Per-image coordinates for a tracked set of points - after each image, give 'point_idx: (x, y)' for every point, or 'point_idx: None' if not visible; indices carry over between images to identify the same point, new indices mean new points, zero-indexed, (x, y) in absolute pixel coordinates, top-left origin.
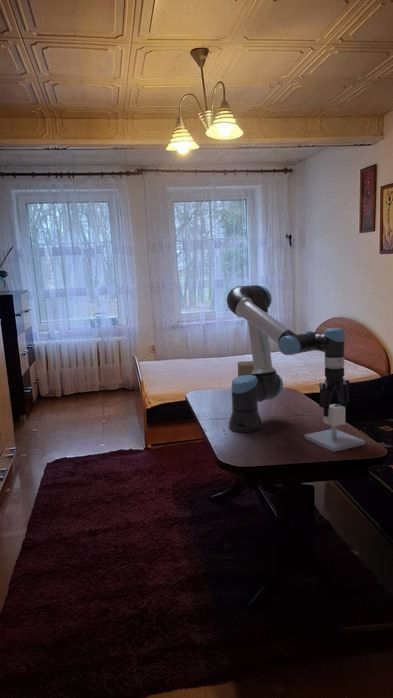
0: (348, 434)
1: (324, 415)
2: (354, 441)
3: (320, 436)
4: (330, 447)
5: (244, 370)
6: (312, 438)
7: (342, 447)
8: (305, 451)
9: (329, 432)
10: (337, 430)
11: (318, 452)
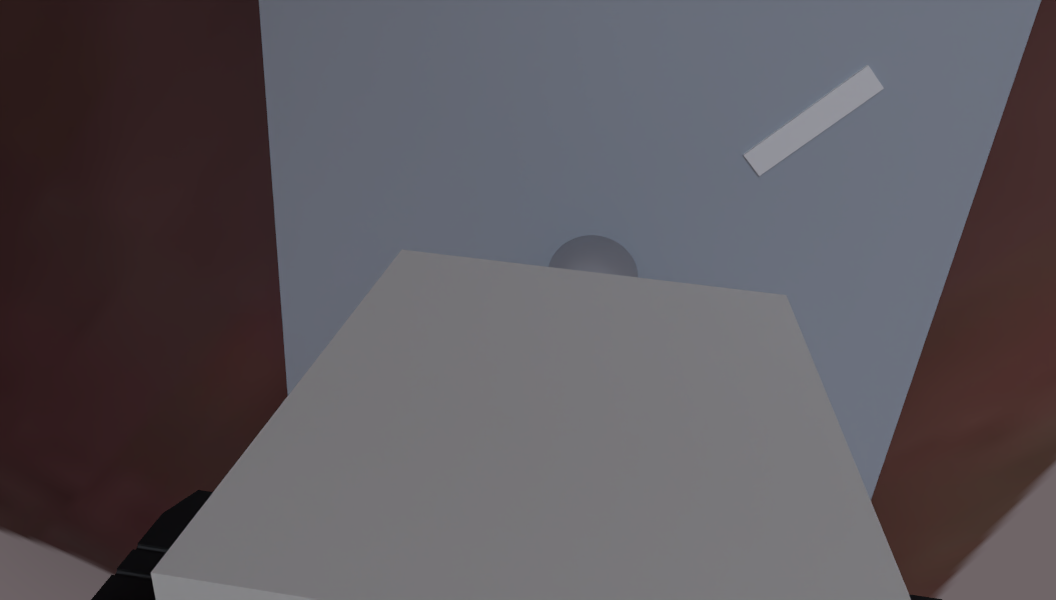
0: (920, 314)
1: (183, 527)
2: None
3: (445, 99)
4: None
5: None
6: (267, 85)
7: None
8: (17, 285)
9: (755, 30)
10: (990, 37)
11: (147, 395)
